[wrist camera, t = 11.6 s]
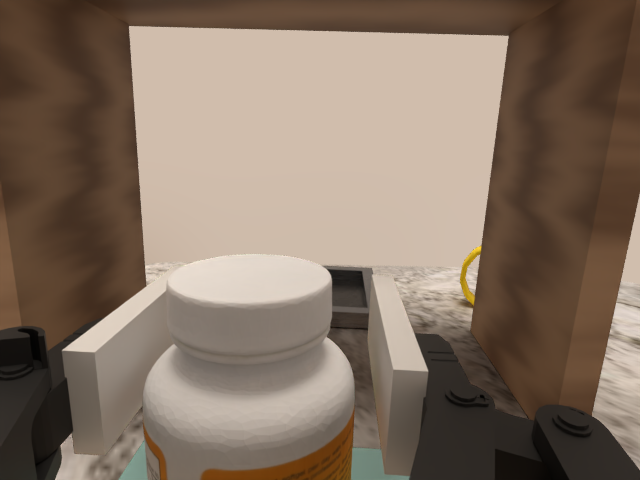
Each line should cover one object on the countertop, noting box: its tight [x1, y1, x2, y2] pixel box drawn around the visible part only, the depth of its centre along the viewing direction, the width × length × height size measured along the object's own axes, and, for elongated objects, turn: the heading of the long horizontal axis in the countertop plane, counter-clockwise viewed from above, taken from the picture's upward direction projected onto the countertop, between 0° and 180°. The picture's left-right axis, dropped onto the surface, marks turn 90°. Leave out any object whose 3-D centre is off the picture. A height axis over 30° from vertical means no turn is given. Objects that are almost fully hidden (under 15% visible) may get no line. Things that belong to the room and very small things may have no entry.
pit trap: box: [323, 266, 373, 329], centre depth 36 cm, size 11×11×1 cm
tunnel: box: [0, 0, 640, 421], centre depth 23 cm, size 13×27×22 cm, turn 87°
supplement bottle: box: [143, 254, 355, 480], centre depth 11 cm, size 5×5×10 cm
